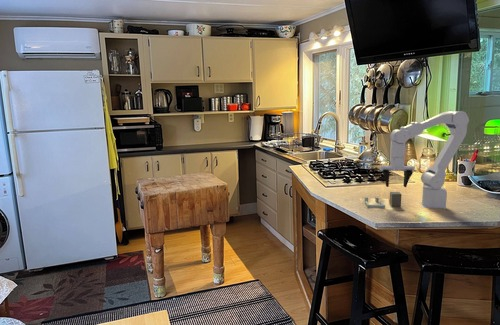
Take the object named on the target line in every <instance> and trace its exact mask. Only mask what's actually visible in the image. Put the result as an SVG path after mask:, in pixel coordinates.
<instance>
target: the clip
mask: <svg viewBox="0 0 500 325" xmlns="http://www.w3.org/2000/svg"><path fill="white" fill-rule="evenodd" d="M364 198H365V201H367V202H368V198H369V196H367V195H366V196H364ZM374 199H375V201H376V202H379V199H380V198H379V197H378V196H374Z"/></svg>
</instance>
